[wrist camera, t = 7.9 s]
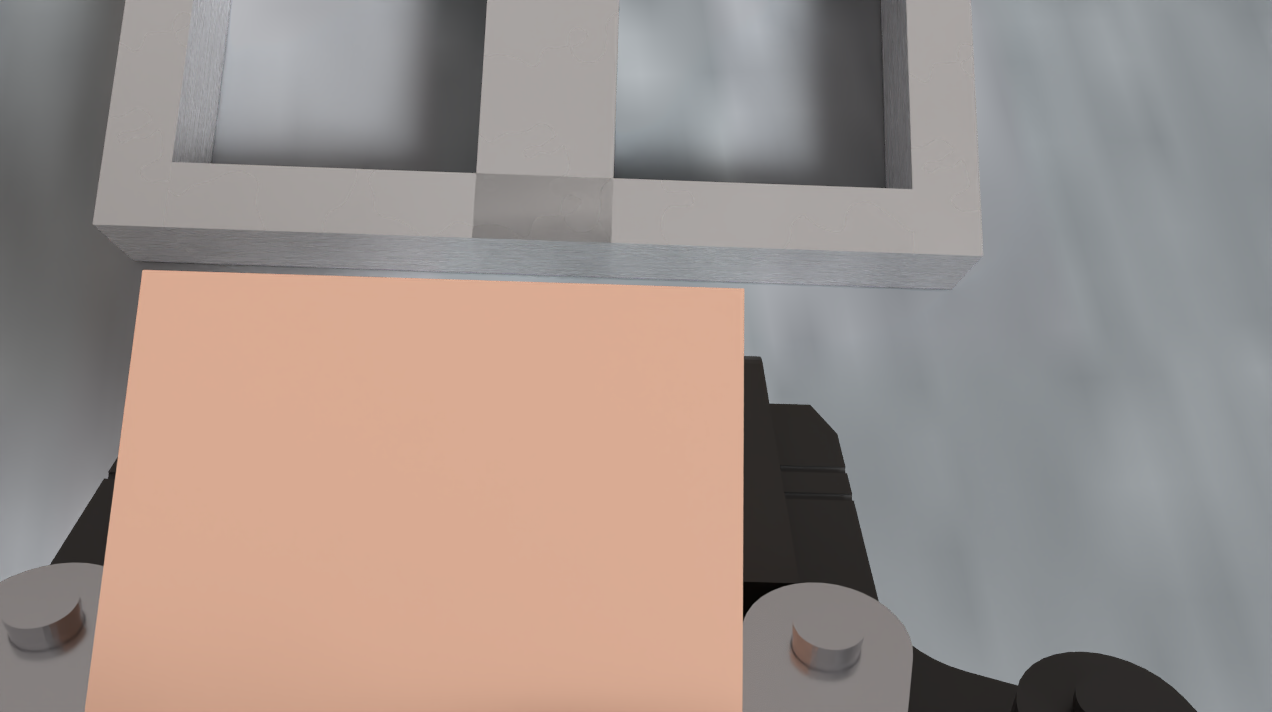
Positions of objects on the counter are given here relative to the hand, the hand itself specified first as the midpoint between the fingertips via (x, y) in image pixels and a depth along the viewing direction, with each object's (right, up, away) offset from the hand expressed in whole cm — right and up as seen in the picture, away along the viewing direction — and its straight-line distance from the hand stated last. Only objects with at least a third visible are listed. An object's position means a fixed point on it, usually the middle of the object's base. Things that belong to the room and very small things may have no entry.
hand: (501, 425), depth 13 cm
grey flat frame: (0, +6, +12) cm, 13 cm away
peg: (0, -3, +4) cm, 5 cm away
